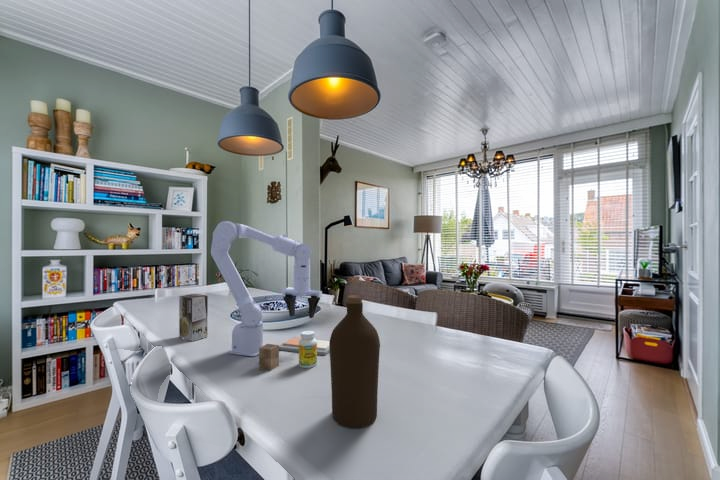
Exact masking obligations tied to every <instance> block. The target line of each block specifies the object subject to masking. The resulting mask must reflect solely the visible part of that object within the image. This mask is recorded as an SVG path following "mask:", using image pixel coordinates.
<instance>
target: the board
mask: <svg viewBox="0 0 720 480" xmlns="http://www.w3.org/2000/svg"><path fill="white" fill-rule="evenodd" d="M301 339H302V338H301V337H296V336H293V337H292V338H290V339H288V340H286V341H285V342H283V343H281V344H278V345H279V351H280V350H281V351H287V352H293V353H294V352H295V353H299V341H300V340H301ZM316 340H317V356H318V355H319V356H327V355H329V354H330V347H329V343H330V340H323V339H316Z"/></svg>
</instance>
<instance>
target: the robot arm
mask: <svg viewBox="0 0 720 480" xmlns="http://www.w3.org/2000/svg"><path fill="white" fill-rule="evenodd" d="M237 238H238V239H245V238H249V239H251V240H255V241H258V242H261V243H263V244H266V245H270V246H271V248H272V250H273V251H275V252H277V253H280V254H283V255H285V256H288V257H294V260H293V261H294V265H293V288H289V289H288V288H286V289H282V296H283V297H282V298H283V300H284V302H285V304H286V307H287V311H288V313H289V317H294V316H295V315H296V300H297V297H298V296H299V297H308V298H307V303H308V311H309V312H308V318H309V319H313V318H314V317H315V312H316V309H317V306H318V304H319V302H320V300H321V297H323V290H317V289H316V290H315V289H311V257H312V256H313V251H312V248H311V247H310V246H309V245H308V244H306V243H301V241H300V240H298V239H297V240H294V239H291V238H290V237H288V235H286V234H283V235H282V234H279V235H276V236H273V235H270V234H268V233H267V232H266V233H265V232H263V231H261V230H258V229H255V228H253V227H251V226H249V225H246V224H241V223H238V222H237V223H236V222H235V223H234V222H232V221H229V220H224V221H220V222H219V223H218V224H217V226H216V227H215V229H214V230H213V232H212V239H211V240H212V241H211V247H210V255H211V257H212V258H213V260H214V262H215V265H216V266H217V268H218V270H219V272H220V274H221V276H222V277H223V279H224V281H225V284H226V285H227V286H228V288H229V290H230V293H231V295H232V297H233V298H234V299H235V303H236V304H237V308H238V310H239V312H240V320H241V321H240V323H238V324H235V326H234V327H233V329H232V331H231V351H230V352H229V353H230V354H232V355H239V356H247V357H256V356H259V348H260V347H262V346H264V343H263V342H264V322H263V321H262V318H263V314H262V307H261V305H260V304H258V302H256V301H255V300H254V298H253V296H251V295H252V294H250V292H249V290H248V289H247V286H246V285H245V283H244V280H243V279H242V277H241V275H240V272H239V271H238V270H237V267H236V265H235V264H234V262H233V260H232V258H231V256H230V253H229V251H230V249H231V246H232V244H233V242H234V241H235V240H236V239H237Z"/></svg>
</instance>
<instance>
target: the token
mask: <svg viewBox="0 0 720 480" xmlns="http://www.w3.org/2000/svg"><path fill="white" fill-rule="evenodd" d="M279 345H280V344H272V343H266V344H263V346H262V347H260V348H259V354H258V369H259V370H263V371H268V372H269V371H273V370H274V369H276V368H277V367H279V366H280V350H279Z"/></svg>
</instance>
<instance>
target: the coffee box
mask: <svg viewBox="0 0 720 480" xmlns="http://www.w3.org/2000/svg"><path fill="white" fill-rule="evenodd" d="M178 299H179V301H178V302H179V304H178V306H179V308H178V311H179V313H178V316H179V319H178V321H179V323H178V325H179V328H178V329H179V330H178V331H179V333H178V335H179V337H181V338H180V339H182V338H184V339H183V340H186V339H187V340H186V341H189V340H190V342H195V341H198V339H199V340H202V339H201V338H203V339H206V338H205V337H207V338H208V315H209V314H208V307H209V306H208V305H209V304H208V301H209V300H208V299H209V296H208V294H207V295H206V294H198V293H191V294H185V295H179V296H178ZM179 337H178V338H179ZM194 340H195V341H194Z"/></svg>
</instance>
